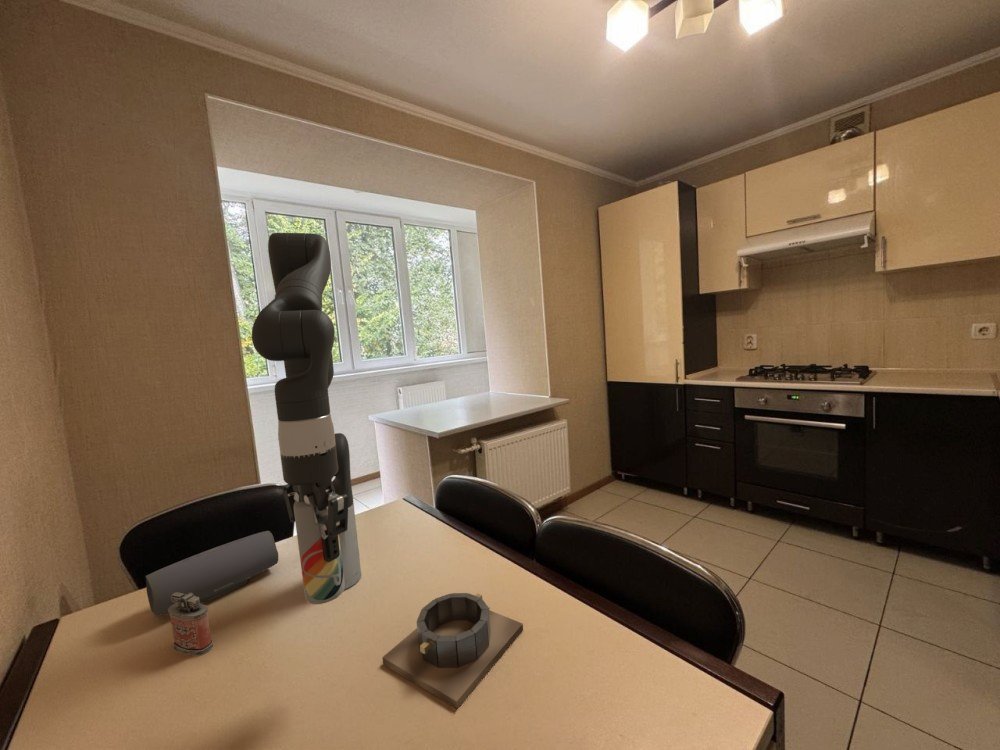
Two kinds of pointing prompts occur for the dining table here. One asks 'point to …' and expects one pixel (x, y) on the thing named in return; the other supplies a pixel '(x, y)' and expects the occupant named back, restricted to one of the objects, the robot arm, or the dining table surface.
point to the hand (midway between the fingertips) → (321, 553)
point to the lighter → (190, 624)
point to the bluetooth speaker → (212, 571)
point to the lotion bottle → (316, 555)
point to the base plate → (452, 681)
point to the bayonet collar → (456, 647)
